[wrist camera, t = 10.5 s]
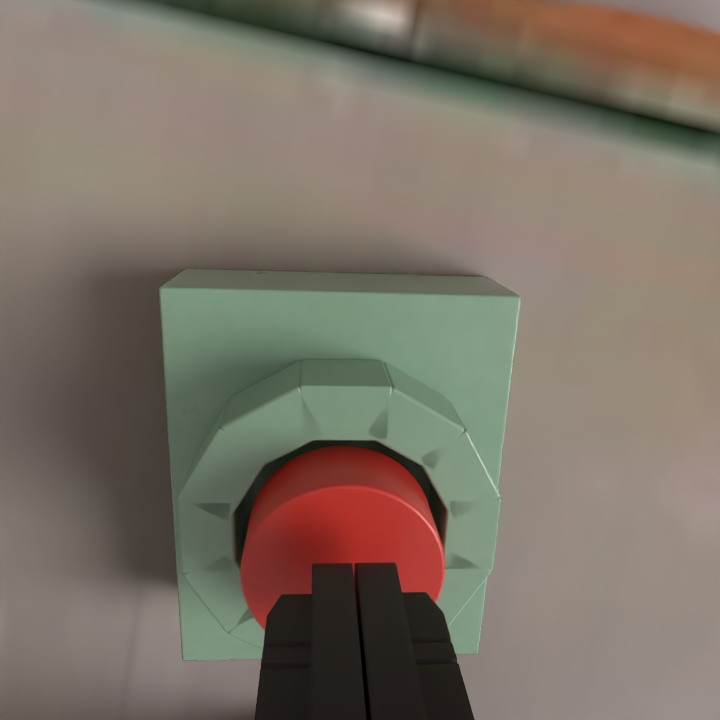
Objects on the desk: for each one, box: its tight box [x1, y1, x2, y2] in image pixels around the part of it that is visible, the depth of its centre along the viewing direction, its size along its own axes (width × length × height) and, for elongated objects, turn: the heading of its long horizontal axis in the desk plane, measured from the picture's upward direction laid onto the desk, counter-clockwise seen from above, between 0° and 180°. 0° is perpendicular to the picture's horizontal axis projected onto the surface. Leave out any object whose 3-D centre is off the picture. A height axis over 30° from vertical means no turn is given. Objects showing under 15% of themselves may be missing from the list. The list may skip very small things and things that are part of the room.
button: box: [240, 446, 445, 630], centre depth 12 cm, size 4×4×2 cm
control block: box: [159, 269, 521, 661], centre depth 15 cm, size 8×10×4 cm
